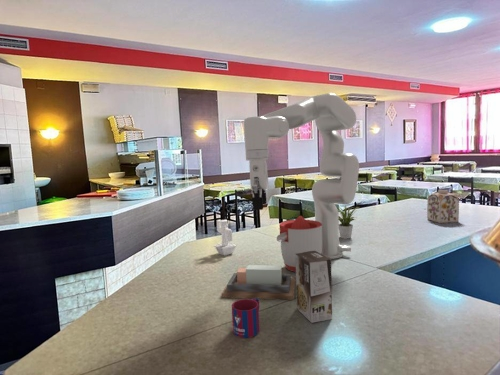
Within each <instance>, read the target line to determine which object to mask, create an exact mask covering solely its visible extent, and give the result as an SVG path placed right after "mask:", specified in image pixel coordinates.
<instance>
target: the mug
mask: <svg viewBox="0 0 500 375" xmlns="http://www.w3.org/2000/svg"><path fill="white" fill-rule="evenodd" d="M231 321H232V322H231V323H232V333H233V335H235V337H238V338H242V339H243V338H244V339H247V338H252V337H253V338H254V337H255V336H256V335H259V333H260V328H261V327H260V326H261V325H260V298H240V299H238V300H235V301H233V302H232V304H231Z"/></svg>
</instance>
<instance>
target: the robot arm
mask: <svg viewBox="0 0 500 375" xmlns="http://www.w3.org/2000/svg"><path fill="white" fill-rule="evenodd" d="M312 121H314V123H315V126H316V128H317V130H318V131H319V134H320V135H321V138H322V151H321V156H320V164H319V173H320V174H321V175H323V176H324V177H328V178H329V177H330V178H340V179H327V178H325V179H319V180H316V181H314V183H313V185H312V189H311V192H312V193H311V195H312V198H313V203H314V204H313V205H314V221H318V222H320V223H322V226H321V238H322V250H321V254H322V255H324V256H326V257H328V258H330V259H331V260H335V259H339V258H342V257H343V256H344V252H352V247H351V246H348V245H341V244H340V233H339V224H340V221H339V216H340V212H339V211H338V209H337V206H336V205H349V204H351V203H353V201H354V199H355V198H356V192H357V186H358V180H359V172H360V163H359V159H358V157H357V156H356V155H355V154H353V153H349V152H347V153H344V148H345V142H344V138H343V137H342V136H341V133H340V132H339V131H342V130H345V131H346V130H350V129H352V128H353V127H355V126H356V123H357V114H356V111H355V110H354V109H353V107H352V106H351V105H349V104H348V103H347V102H346V101H345V99H343V98H342V97H341V96H339V95H338V94H335V93H332V92H328V93H322V94H317V95H311V96H309V97H307V98H304V99H302V100H300V101H298V102H296V103H294V104H291V105H287V106H285V107H282V108H280V109H277V110H274V111H271V112H268V113H265V114H263V115H261V116H248V117H246V118H244V120H243V131H244V132H243V134H244V151H245V161H249V163H248V164H249V181H250V182H249V183H250V189H251V191H252V198H251V199H252V209H253V211H259V210H260V211H261V210H263V209H264V205H267V192H266V190H268V188H269V176H268V175H269V174H268V165H267V160H269V159H270V156H269V155H270V154H269V153H270V152H269V140H278V139H282V138H283V137H285V136H286V135H287V134H288V133H289V131H290V130H292V129H293V130H294V129H297V128H300V127H303V126H305V125H307V124H309V123H311V122H312Z"/></svg>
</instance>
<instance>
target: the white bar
mask: <svg viewBox="0 0 500 375" xmlns="http://www.w3.org/2000/svg"><path fill="white" fill-rule="evenodd" d="M282 269H283V268H282V265H270V264H269V265H265V264H264V265H260V264H248V265H247V266H246V267H238V270H237V271H236V273H237V284H264V285H282V274H283V271H282Z"/></svg>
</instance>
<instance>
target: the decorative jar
mask: <svg viewBox="0 0 500 375" xmlns="http://www.w3.org/2000/svg"><path fill="white" fill-rule="evenodd" d="M437 190H438V191H437V192H432V193H431V194H430V195H428V197H427V206H426V207H427V208H426V211H427V212H426V213H427V214H426V219H427V220H429V221H432V222H435V223H438V224H447V223H448V222H451V223H458V222H459V220H460V219H459V218H460V199H459V198H458V196H457V195H456V194H455V193H454V192H449V191H448V189H437ZM448 224H449V223H448Z"/></svg>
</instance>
